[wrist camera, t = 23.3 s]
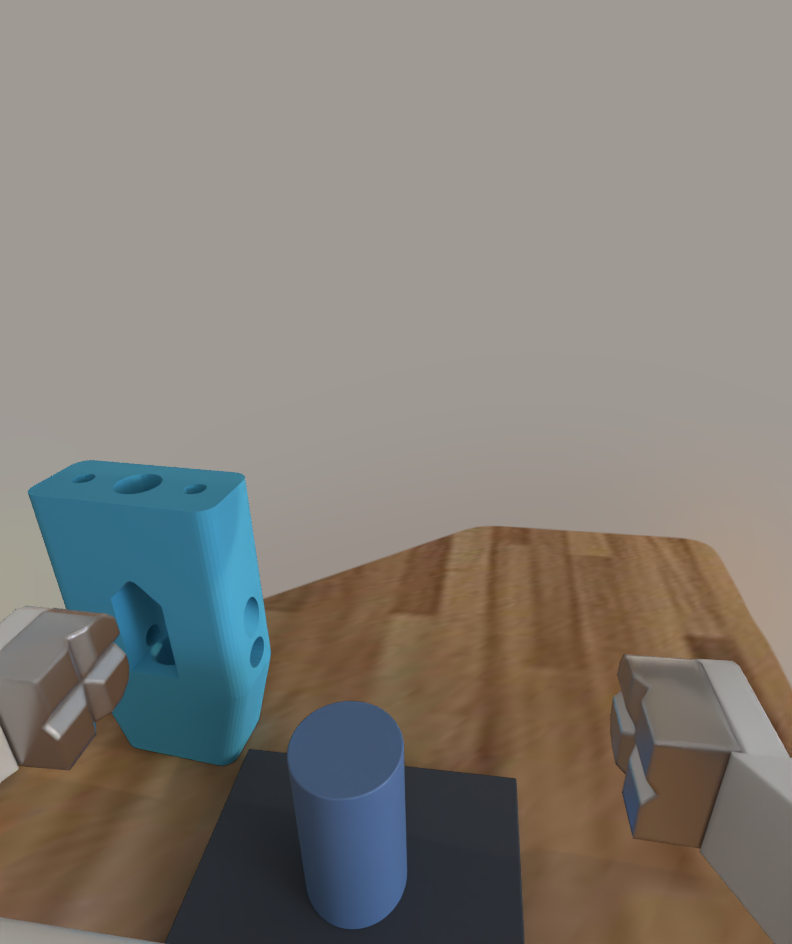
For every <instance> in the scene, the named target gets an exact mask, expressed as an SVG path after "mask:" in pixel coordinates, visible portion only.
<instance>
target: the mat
mask: <svg viewBox="0 0 792 944" xmlns="http://www.w3.org/2000/svg"><path fill="white" fill-rule="evenodd" d="M404 773H405V810H406V847H407V880H406V885H405V889H404V892H403V894H402V896H401V899H400V900H399V902H398V904H397V905H396V907H395V908H394V909H393V910H392V911H391V912H390V913H389V914H388V915H387V916H386V917H385V918H384V919H382V920H381V921H379V922H378V923H376V924H374V925H371V926H369V927H366V928H361V929H344V928H340V927H337V926H335V925H332V924H331V923H329V922H327V921H326V920H324V919H323V918H322V917H321V916H320V915H319V914H318V913H317V912H316V910H315V909H314V907H313V906H312V904H311V902H310V900H309V897H308V893H307V888H306V882H305V875H304V869H303V862H302V855H301V849H300V842H299V836H298V829H297V822H296V816H295V809H294V802H293V796H292V789H291V782H290V776H289V769H288V762H287V753H280V752H271V751H262V750H253V749H249V750H248V753H247V755H246V757H245V760H244V762H243V764H242V767H241V769H240V771H239V773H238V776H237V778H236V780H235V783H234V785H233V787H232V790H231V792H230V794H229V796H228V799H227V801H226V803H225V806H224V808H223V810H222V813H221V815H220V817H219V819H218V822H217V824H216V826H215V829H214V831H213V833H212V836H211V838H210V840H209V842H208V845H207V847H206V849H205V852H204V854H203V856H202V859H201V861H200V863H199V865H198V868H197V870H196V872H195V875H194V877H193V879H192V882H191V884H190V886H189V888H188V891H187V893H186V895H185V898H184V900H183V902H182V905H181V907H180V909H179V911H178V914H177V916H176V918H175V921H174V923H173V925H172V928H171V930H170V932H169V934H168V937H167V939H166V941H165V944H524V926H523V906H522V885H521V865H520V844H519V824H518V803H517V783H516V779H515V778H507V777H498V776H489V775H480V774H471V773H462V772H453V771H444V770H434V769H425V768H416V767H407V766H404Z"/></svg>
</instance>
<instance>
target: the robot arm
mask: <svg viewBox="0 0 792 944" xmlns="http://www.w3.org/2000/svg"><path fill="white" fill-rule="evenodd" d="M119 634H120V631H119V628H118V625H117V622H116V620H115V617H113V616H111V615H108V614H106V613H97V612H87V611H78V610H68V609H58V608H52V609H51V608H43V607H33V606H25V607H22V608H18V609H15V610H14V611H13V612H12V613H11V614H10V615H8V616H7V617H6V618H5V619H4V620H3V621H2V622H0V782H1V781H3V780H4V779H6V778H7V777H8V776H10V775H11V774H13V773H14V772H15V771H17V770H18V769H19V767H18V766H25V767H36V768H47V769H59V770H70V769H71V768H72V767H73V765H74V764H75V763H76V761H77V760H78V758H79V757H80V756H81V754H82V753H83V752H84V750H85V749H86V748H87V746H88V745H89V744H90V742H91V741H92V739H93V738H94V737H95V735H96V722H97V721H98V720H100V719H102V718H103V717H105V716H107V715H108V714H110V713H112V712H113V711H114V709H115V708H116V706H117V705H118V704H119V702H120V701H121V699H122V698H123V696H124V693H125V690H126V687H127V684H128V681H129V663H128V659H127V655H126V653H125V652H124V651H123V650H122V649H121V648H120V647H119V646H118V645H117V644H116V643H115V641H116V639H117V638H118V636H119ZM617 676H618V680H619V684H620V687H621V691H620V692H619V693H618V694H616V695H615V696H614V697H613V701H612V708H611V714H610V734H611V742H612V749H613V754H614V759H615V763H616V765H617V766H618V767H619V768H620V769H621V770H622V771H623V772H624V773H625V774H626V776H625V781H624V786H623V791H622V794H623V798H624V802H625V807H626V811H627V815H628V819H629V824H630V828H631V832H632V836H633V839H640V840H647V841H653V842H660V843H667V844H673V845H680V846H687V847H694V848H700V853H701V854H702V855H703V856H704V858H705V859H706V860H707V861H708V863H709V864H710V865H711V866H712V867H713V869H714V870H715V871H716V872H717V874H718V875H719V876H720V877H721V879H722V880H723V881H724V882H725V883H726V885H727V886H728V887H729V888H730V890H731V891H732V892H733V893H734V895H735V896H736V897H737V898H738V899H739V901H740V902H741V903H742V904H743V906H744V907H745V908H746V909H747V910H748V912H749V913H750V914H751V915H752V917H753V918H754V919H755V920H756V922H757V923H758V924H759V925H760V926H761V928H762V929H763V930H764V931H765V933H766V934H767V935H768V936H769V938H770V939H771V940H772V941H773V942H774V944H792V758H790V757H789V755H788V753H787V751H786V749H785V748H784V746H783V744H782V742H781V740H780V739H779V737H778V735H777V733H776V731H775V730H774V728H773V726H772V724H771V722H770V721H769V719H768V717H767V715H766V713H765V712H764V710H763V708H762V706H761V704H760V703H759V701H758V699H757V697H756V695H755V693H754V692H753V690H752V688H751V686H750V684H749V683H748V681H747V679H746V677H745V675H744V674H743V672H742V670H741V668H740V666H738V665H737V664H736V663H735V662H733V661H723V660H707V659H695V660H693V659H682V658H669V657H655V656H641V655H627V654H623V656H622V658H621V660H620V663H619V668H618V673H617ZM0 944H165V943H158V942H152V941H146V940H140V939H134V938H127V937H121V936H115V935H109V934H103V933H96V932H90V931H84V930H78V929H72V928H65V927H59V926H53V925H47V924H41V923H34V922H28V921H22V920H16V919H10V918H3V917H0Z"/></svg>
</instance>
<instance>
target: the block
mask: <svg viewBox="0 0 792 944" xmlns="http://www.w3.org/2000/svg"><path fill="white" fill-rule="evenodd" d="M28 494H29V497H30V500H31V503H32V506H33V509H34V512H35V516H36V518H37V521H38V524H39V528H40V530H41V534H42V537H43V540H44V543H45V546H46V549H47V552H48V555H49V558H50V561H51V564H52V567H53V570H54V573H55V576H56V579H57V582H58V585H59V588H60V591H61V595H62V598H63V600H64V604H65V607H66V609H68V610H78V611H87V612H97V613H106V614H108V615H111V616H113V617H115V620H116V622H117V625H118V628H119V631H120V634H119V636H118V638H117V639H116V641H115V643H116V644H117V645H118V646H119V647H120V648H121V649H122V650H123V651H124V652H125V653H126V655H127V659H128V663H129V681H128V684H127V687H126V690H125V693H124V696H123V698H122V699H121V701H120V702H119V704H118V705H117V706H116V708H115V709H114V711H113V712H112V714H113V716H114V717H115V719H116V721H117V722H118V724H119V726H120V727H121V729H122V731H123V732H124V734H125V736H126V737H127V739H128V741H129V742H130V744H131V745H132V746H133V747H135V748H139V749H143V750H148V751H153V752H158V753H162V754H167V755H172V756H177V757H181V758H186V759H191V760H196V761H200V762H205V763H210V764H215V765H221V766H223V765H228V764H230V763H232V762H234V761H235V760H236V759H237V758H238V756H239V755H240V753H241V751H242V749H243V748H244V746H245V744H246V742H247V740H248V739H249V737H250V735H251V733H252V731H253V730H254V728H255V726H256V724H257V722H258V720H259V717H260V711H261V706H262V700H263V695H264V689H265V684H266V678H267V673H268V667H269V662H270V656H271V650H270V643H269V636H268V629H267V623H266V616H265V609H264V603H263V596H262V589H261V582H260V576H259V570H258V562H257V556H256V549H255V542H254V535H253V529H252V522H251V515H250V509H249V502H248V495H247V489H246V482H245V476H244V475H242V474H240V473H235V472H223V471H211V470H200V469H188V468H177V467H165V466H153V465H142V464H129V463H118V462H107V461H95V460H89V461H82V462H78V463H75V464H73V465H70V466H69V467H67V468H65V469H63V470H62V471H60V472H58V473H56V474H54V475H53V476H51V477H49V478H47V479H45V480H44V481H42V482H40V483H38V484H36V485H35V486H33V487H32V488H30V489H29V490H28Z"/></svg>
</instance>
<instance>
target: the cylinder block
mask: <svg viewBox="0 0 792 944" xmlns="http://www.w3.org/2000/svg"><path fill="white" fill-rule="evenodd" d="M287 762H288V769H289V776H290V782H291V789H292V796H293V802H294V809H295V816H296V822H297V829H298V836H299V842H300V849H301V855H302V862H303V869H304V875H305V882H306V888H307V893H308V897H309V900H310V902H311V904H312V906H313V907H314V909H315V910H316V912H317V913H318V914H319V915H320V916H321V917H322V918H323V919H324V920H326V921H327V922H329V923H331V924H332V925H335V926H337V927H340V928H344V929H361V928H366V927H369V926H371V925H374V924H376V923H378V922H379V921H381V920H382V919H384V918H385V917H386V916H387V915H388V914H389V913H390V912H391V911H392V910H393V909H394V908H395V907H396V905H397V904H398V902H399V900H400V899H401V896H402V894H403V892H404V889H405V885H406V880H407V847H406V810H405V773H404V743H403V737H402V733H401V731H400V728H399V727H398V725H397V723H396V722H395V720H394V719H393V718H392V717H391V716H390V715H389V714H388V713H387V712H385V711H384V710H382V709H381V708H379V707H377V706H374V705H372V704H369V703H365V702H359V701H343V702H337V703H333V704H329V705H327V706H324V707H322V708H320V709H318V710H316V711H314V712H313V713H311V714H310V715H309V716H307V717H306V718H305V719H304V720H303V721H302V722H301V723H300V724H299V726H298V727H297V728H296V730H295V731H294V733H293V735H292V737H291V739H290V742H289V746H288V751H287Z"/></svg>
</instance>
